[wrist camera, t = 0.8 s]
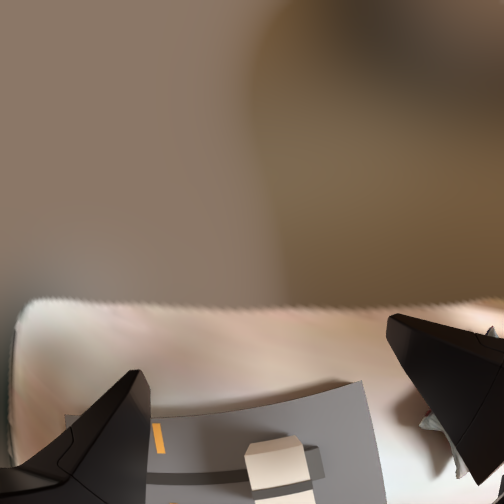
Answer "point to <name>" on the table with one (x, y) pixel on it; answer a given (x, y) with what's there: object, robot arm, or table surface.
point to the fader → (279, 472)
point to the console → (258, 430)
